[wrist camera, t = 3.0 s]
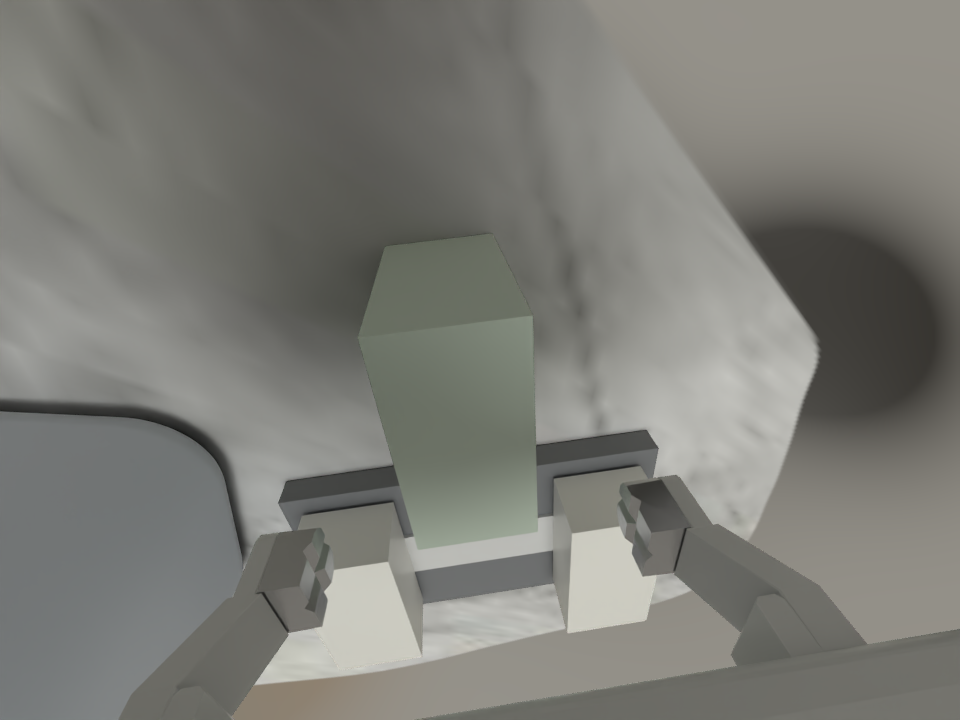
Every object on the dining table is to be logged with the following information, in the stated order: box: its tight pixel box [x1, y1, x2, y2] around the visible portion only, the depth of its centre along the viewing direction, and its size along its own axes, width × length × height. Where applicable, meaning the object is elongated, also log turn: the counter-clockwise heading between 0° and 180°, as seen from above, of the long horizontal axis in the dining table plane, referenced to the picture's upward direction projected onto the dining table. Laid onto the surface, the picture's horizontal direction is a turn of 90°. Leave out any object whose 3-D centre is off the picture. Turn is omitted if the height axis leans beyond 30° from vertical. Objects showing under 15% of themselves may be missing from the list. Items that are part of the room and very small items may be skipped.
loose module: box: [358, 233, 538, 550], centre depth 16 cm, size 9×4×8 cm, turn 5°
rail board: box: [278, 430, 659, 670], centre depth 25 cm, size 12×21×5 cm, turn 95°
